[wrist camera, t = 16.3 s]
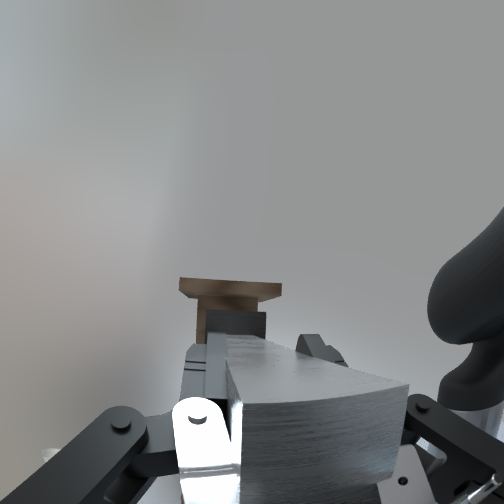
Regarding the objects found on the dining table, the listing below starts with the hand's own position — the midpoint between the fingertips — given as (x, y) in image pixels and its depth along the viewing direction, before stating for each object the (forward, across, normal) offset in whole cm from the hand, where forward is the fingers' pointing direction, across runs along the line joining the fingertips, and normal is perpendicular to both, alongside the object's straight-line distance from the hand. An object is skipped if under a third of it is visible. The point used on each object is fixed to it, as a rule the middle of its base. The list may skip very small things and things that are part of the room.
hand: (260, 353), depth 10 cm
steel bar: (+2, 0, +5) cm, 5 cm away
